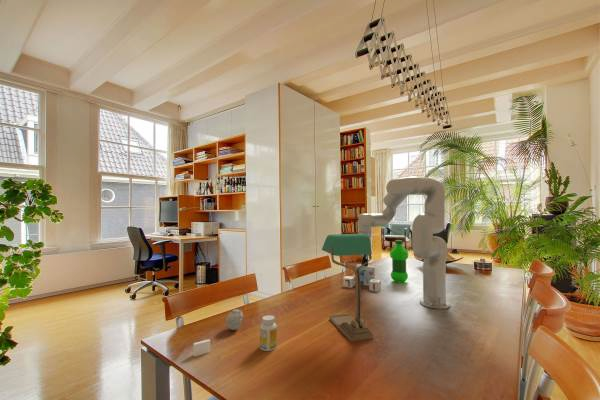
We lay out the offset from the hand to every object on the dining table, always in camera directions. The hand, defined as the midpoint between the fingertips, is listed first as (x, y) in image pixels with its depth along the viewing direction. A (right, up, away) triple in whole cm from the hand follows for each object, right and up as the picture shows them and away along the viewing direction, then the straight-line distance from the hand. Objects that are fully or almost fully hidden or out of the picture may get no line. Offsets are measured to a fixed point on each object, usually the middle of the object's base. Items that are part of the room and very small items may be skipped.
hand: (365, 265), depth 166 cm
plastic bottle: (+22, -11, +4) cm, 25 cm away
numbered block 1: (+3, -11, -12) cm, 16 cm away
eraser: (-69, -9, -79) cm, 105 cm away
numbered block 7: (-10, -11, -5) cm, 16 cm away
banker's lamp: (-20, -10, -60) cm, 64 cm away
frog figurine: (-63, -10, -61) cm, 89 cm away
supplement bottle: (-49, -9, -75) cm, 90 cm away
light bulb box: (0, -11, 0) cm, 11 cm away
